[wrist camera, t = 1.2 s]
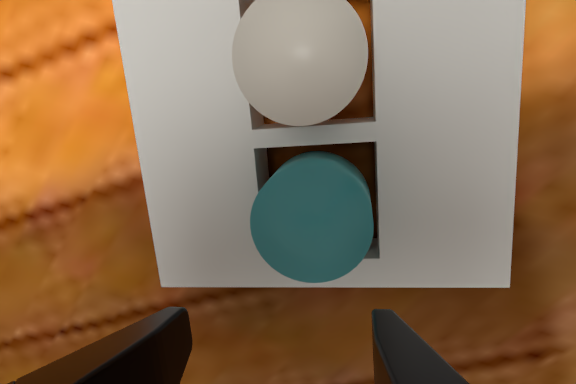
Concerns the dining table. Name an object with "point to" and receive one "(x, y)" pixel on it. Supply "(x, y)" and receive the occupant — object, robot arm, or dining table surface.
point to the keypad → (333, 142)
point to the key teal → (313, 218)
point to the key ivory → (299, 58)
